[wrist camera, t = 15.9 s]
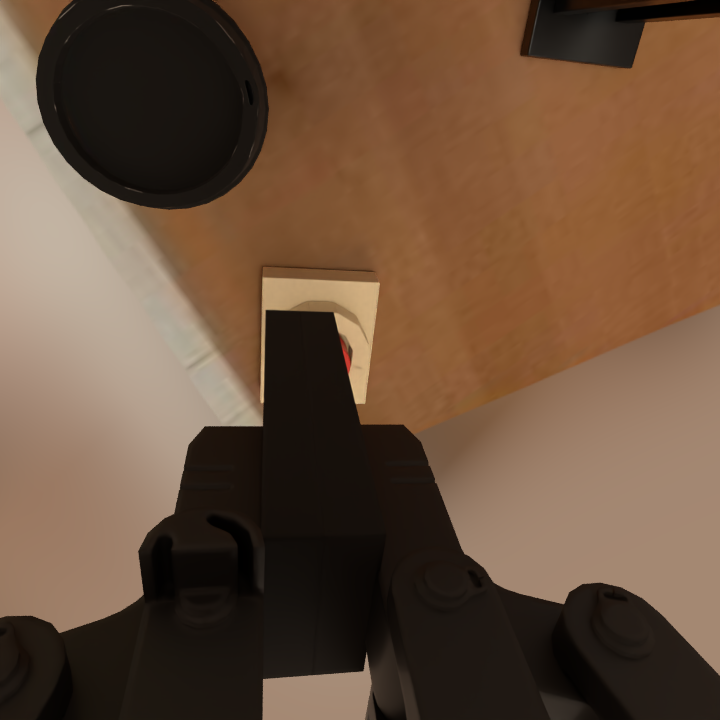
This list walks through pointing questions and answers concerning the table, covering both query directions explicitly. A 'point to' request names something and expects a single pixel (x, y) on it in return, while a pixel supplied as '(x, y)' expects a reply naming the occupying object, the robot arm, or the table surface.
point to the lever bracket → (601, 27)
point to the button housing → (328, 310)
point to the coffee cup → (153, 99)
